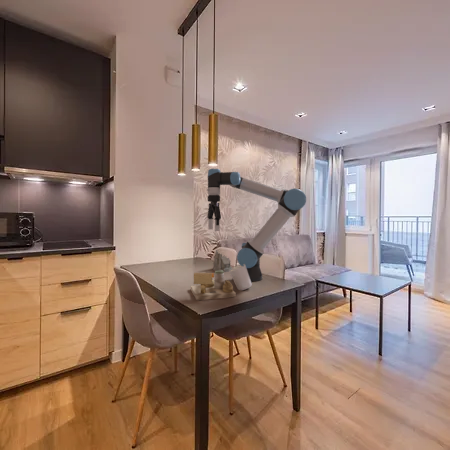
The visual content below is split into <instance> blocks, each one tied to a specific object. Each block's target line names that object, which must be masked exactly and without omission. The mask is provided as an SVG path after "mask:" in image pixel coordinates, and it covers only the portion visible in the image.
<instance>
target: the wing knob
mask: <svg viewBox="0 0 450 450" xmlns="http://www.w3.org/2000/svg"><path fill="white" fill-rule="evenodd" d="M214 273H215V272H194V273H193V284H194V285H201V293H206V284H212V280H213V278H214Z"/></svg>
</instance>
